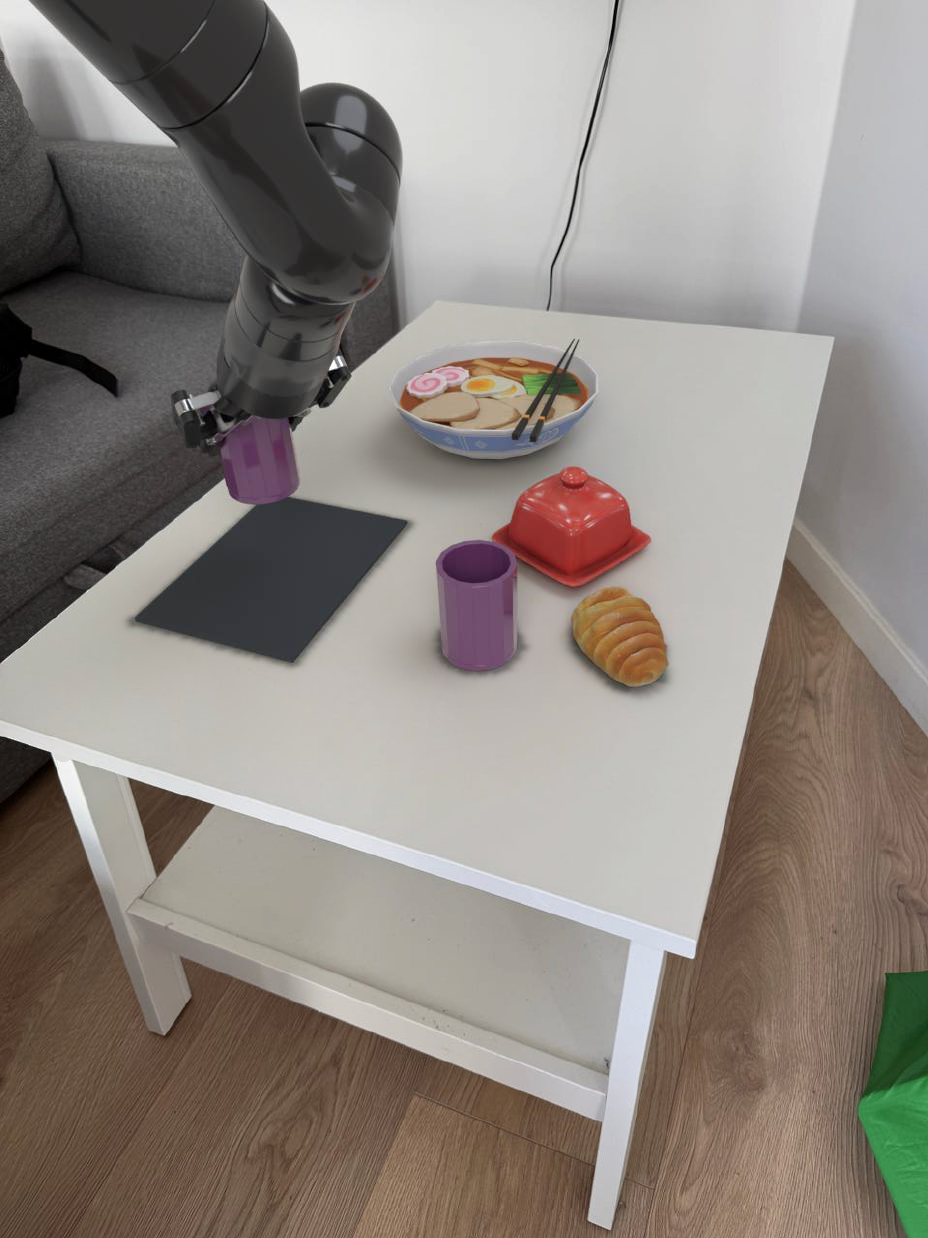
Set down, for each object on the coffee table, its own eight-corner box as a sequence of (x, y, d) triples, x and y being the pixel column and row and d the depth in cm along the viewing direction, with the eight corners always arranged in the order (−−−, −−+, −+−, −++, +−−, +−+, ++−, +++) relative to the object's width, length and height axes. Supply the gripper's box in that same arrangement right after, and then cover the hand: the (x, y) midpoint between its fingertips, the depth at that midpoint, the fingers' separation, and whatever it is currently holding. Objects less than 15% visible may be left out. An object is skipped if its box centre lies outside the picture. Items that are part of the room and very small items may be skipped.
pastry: (688, 680, 72) (694, 643, 69) (609, 702, 70) (612, 665, 68) (634, 610, 79) (637, 574, 76) (561, 629, 77) (562, 593, 75)
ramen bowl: (436, 385, 115) (432, 322, 110) (617, 405, 109) (621, 338, 104) (357, 485, 97) (347, 414, 92) (568, 515, 91) (571, 440, 85)
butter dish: (657, 549, 85) (666, 469, 80) (572, 602, 80) (576, 519, 74) (568, 503, 92) (571, 426, 87) (484, 548, 87) (481, 470, 81)
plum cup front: (240, 512, 76) (218, 419, 71) (220, 480, 81) (198, 389, 75) (310, 492, 78) (294, 400, 73) (287, 461, 83) (270, 372, 77)
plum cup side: (463, 680, 73) (458, 596, 67) (429, 637, 77) (422, 554, 72) (530, 655, 75) (531, 570, 69) (494, 614, 79) (492, 531, 74)
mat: (292, 662, 75) (291, 659, 75) (135, 621, 80) (134, 617, 80) (407, 523, 91) (407, 520, 90) (269, 496, 96) (269, 492, 95)
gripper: (350, 271, 66) (306, 372, 81) (154, 318, 60) (147, 417, 75) (393, 365, 65) (341, 449, 81) (200, 422, 60) (183, 500, 75)
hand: (247, 433), depth 78 cm, fingers closed on plum cup front, 6 cm apart
